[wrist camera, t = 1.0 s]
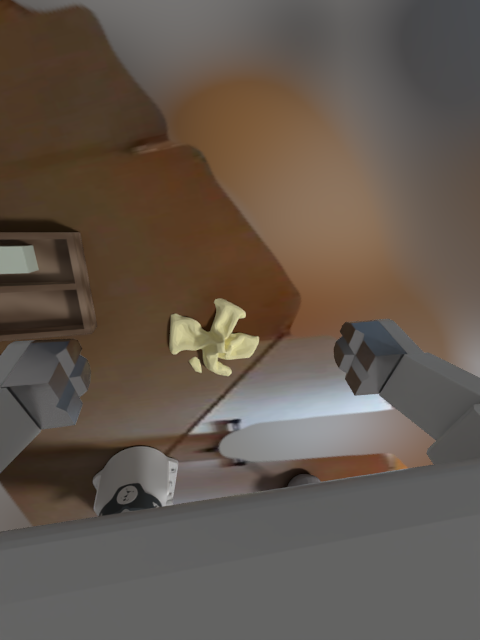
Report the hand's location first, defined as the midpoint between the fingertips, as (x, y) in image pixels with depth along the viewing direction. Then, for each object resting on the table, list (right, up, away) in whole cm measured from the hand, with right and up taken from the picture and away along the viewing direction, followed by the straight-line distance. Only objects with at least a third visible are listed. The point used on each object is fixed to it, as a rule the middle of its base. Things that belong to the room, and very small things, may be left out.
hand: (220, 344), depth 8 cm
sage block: (-36, +11, +35) cm, 51 cm away
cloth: (-4, -5, +50) cm, 51 cm away
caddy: (-36, +7, +37) cm, 52 cm away
